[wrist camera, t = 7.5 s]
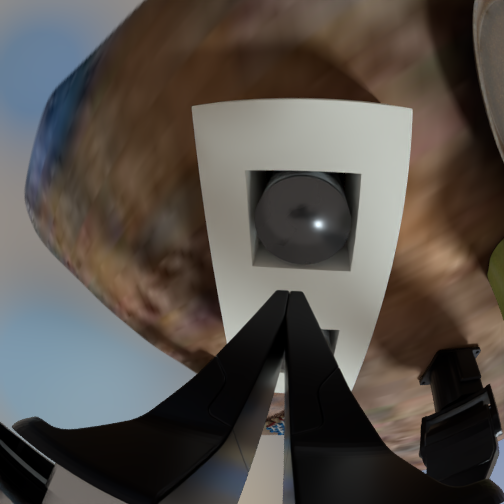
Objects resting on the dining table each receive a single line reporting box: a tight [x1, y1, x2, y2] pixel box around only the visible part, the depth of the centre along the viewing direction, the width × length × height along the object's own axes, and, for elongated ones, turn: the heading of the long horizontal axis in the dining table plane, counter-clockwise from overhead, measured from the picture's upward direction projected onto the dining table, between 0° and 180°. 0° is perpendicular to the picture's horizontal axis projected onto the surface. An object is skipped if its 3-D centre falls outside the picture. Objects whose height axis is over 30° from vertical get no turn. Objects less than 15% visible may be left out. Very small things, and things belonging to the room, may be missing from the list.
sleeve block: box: [192, 98, 412, 393], centre depth 19 cm, size 22×10×6 cm, turn 3°
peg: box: [255, 170, 351, 265], centre depth 16 cm, size 5×5×6 cm
